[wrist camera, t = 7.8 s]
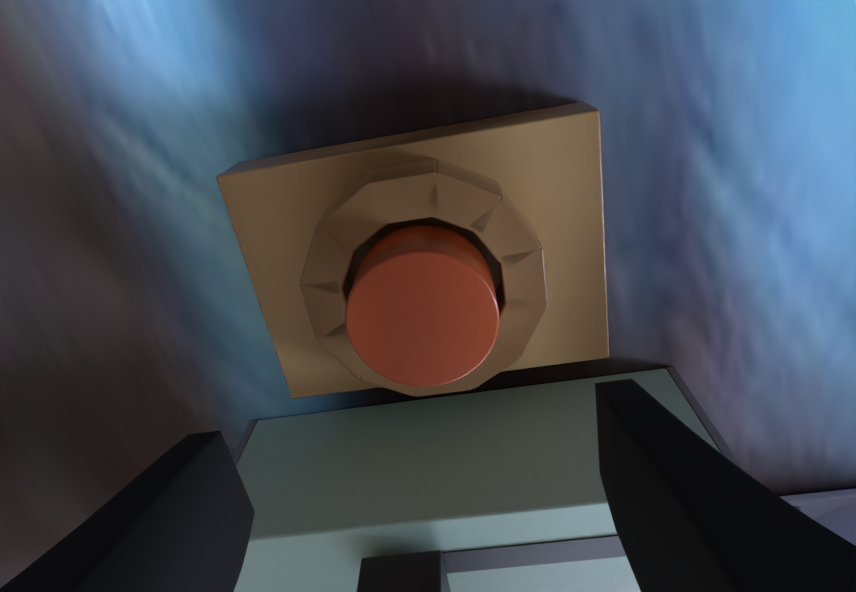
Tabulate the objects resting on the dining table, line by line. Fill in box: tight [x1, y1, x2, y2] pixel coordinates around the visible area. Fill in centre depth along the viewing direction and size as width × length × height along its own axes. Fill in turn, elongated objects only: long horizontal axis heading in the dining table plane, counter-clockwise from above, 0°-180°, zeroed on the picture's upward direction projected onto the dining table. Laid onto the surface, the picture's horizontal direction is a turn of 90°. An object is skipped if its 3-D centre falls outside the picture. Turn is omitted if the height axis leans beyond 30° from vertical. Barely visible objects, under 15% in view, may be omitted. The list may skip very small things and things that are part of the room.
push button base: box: [216, 102, 609, 399], centre depth 17 cm, size 11×8×4 cm
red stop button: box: [345, 225, 500, 387], centre depth 15 cm, size 4×4×2 cm
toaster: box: [232, 367, 746, 592], centre depth 21 cm, size 17×10×6 cm, turn 100°
